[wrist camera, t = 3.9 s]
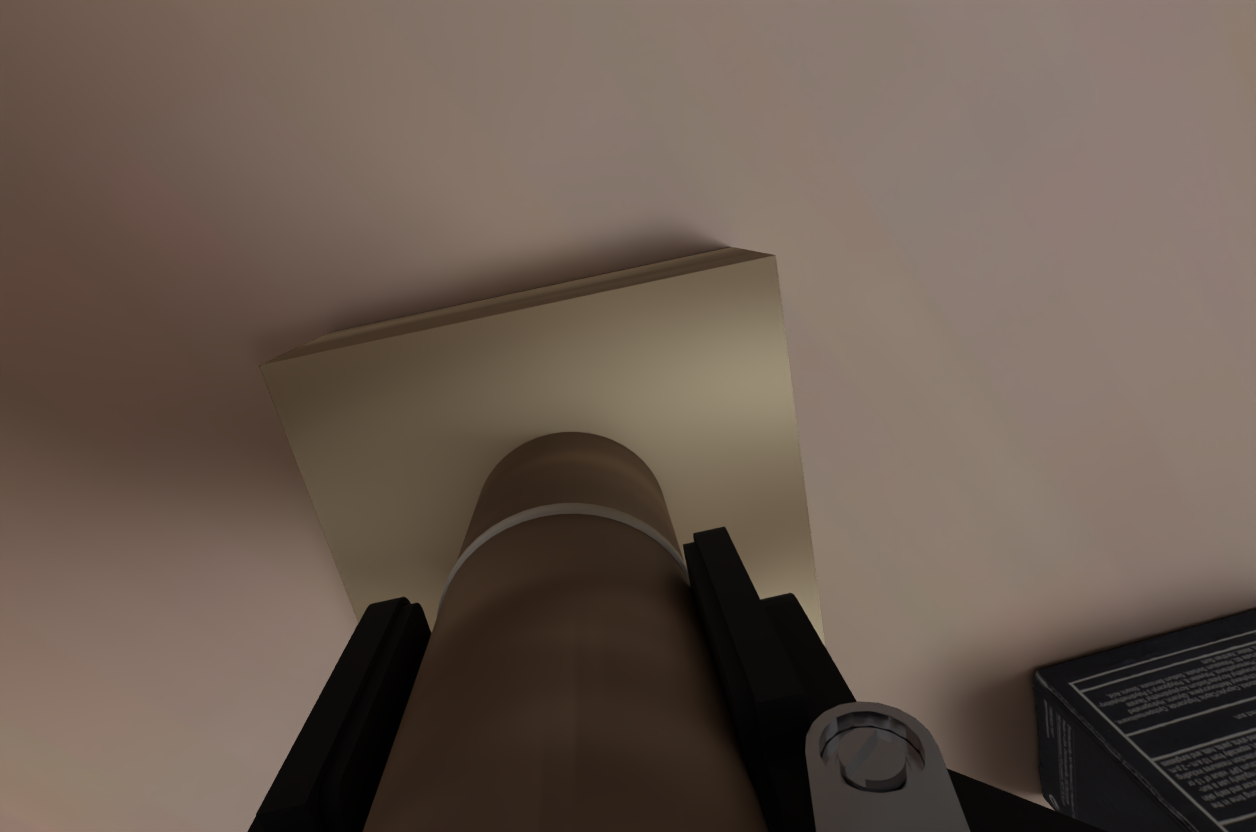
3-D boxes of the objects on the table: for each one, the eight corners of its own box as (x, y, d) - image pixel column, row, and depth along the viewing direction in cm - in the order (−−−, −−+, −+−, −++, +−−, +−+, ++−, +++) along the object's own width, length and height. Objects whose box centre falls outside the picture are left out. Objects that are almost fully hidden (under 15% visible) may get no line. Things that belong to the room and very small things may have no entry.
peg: (648, 410, 14) (939, 1183, 3) (683, 583, 16) (974, 1575, 4) (449, 453, 14) (-69, 1419, 3) (502, 623, 16) (298, 1738, 4)
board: (329, 332, 17) (259, 365, 13) (731, 247, 17) (775, 255, 14) (516, 871, 23) (505, 999, 19) (813, 804, 23) (859, 918, 20)
